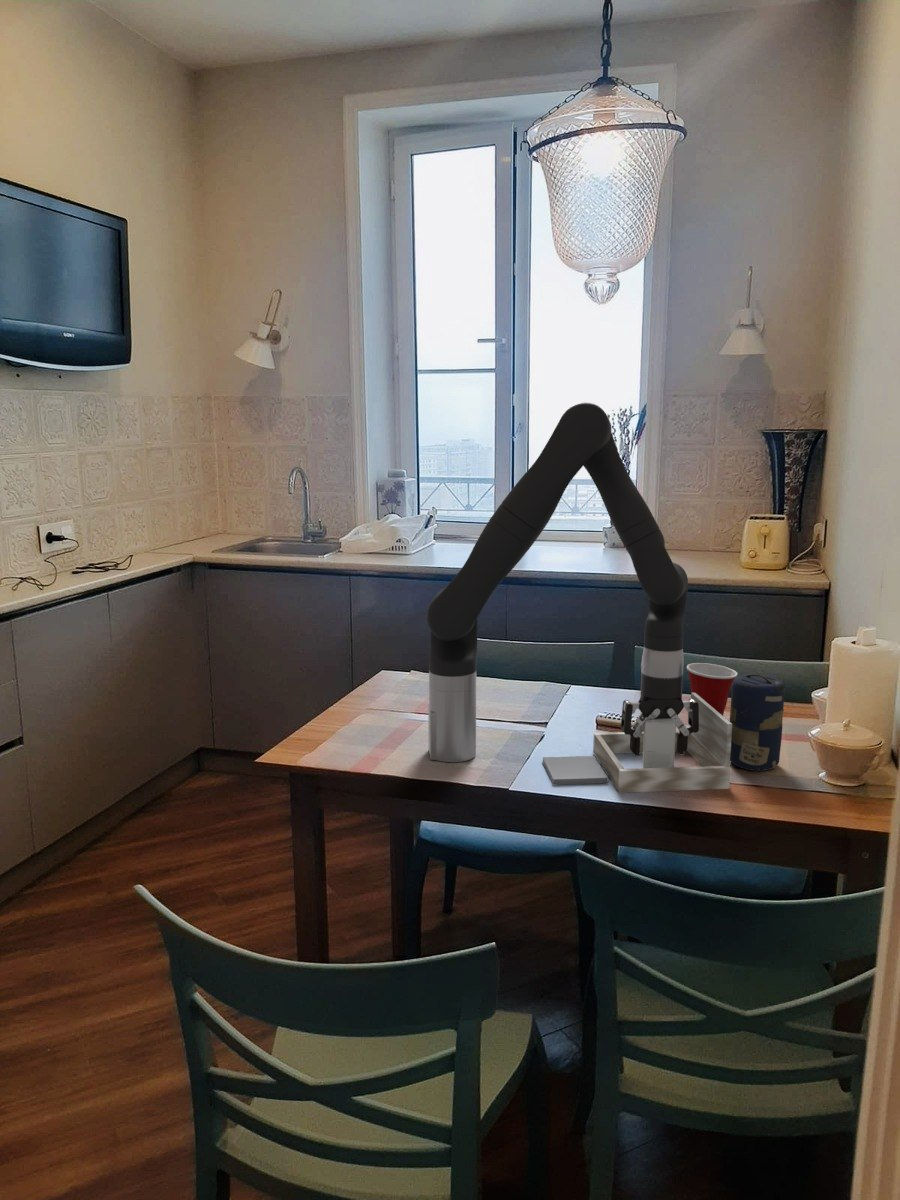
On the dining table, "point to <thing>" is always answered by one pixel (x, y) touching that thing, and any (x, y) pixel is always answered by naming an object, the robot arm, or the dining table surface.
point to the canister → (756, 721)
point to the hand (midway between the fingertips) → (658, 753)
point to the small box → (659, 743)
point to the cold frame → (704, 746)
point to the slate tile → (574, 770)
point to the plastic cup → (711, 683)
